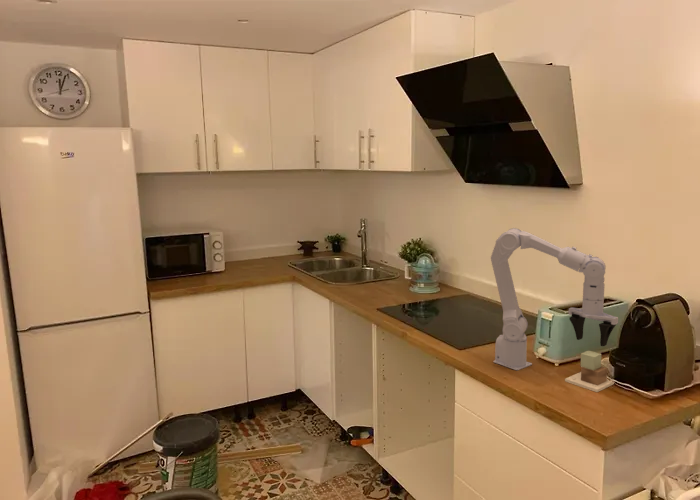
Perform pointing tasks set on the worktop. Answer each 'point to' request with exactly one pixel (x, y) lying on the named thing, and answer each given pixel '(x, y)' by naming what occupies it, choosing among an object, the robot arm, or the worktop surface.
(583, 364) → the sage brick
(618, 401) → the worktop surface
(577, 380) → the plate
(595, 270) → the robot arm
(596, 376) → the walnut brick
